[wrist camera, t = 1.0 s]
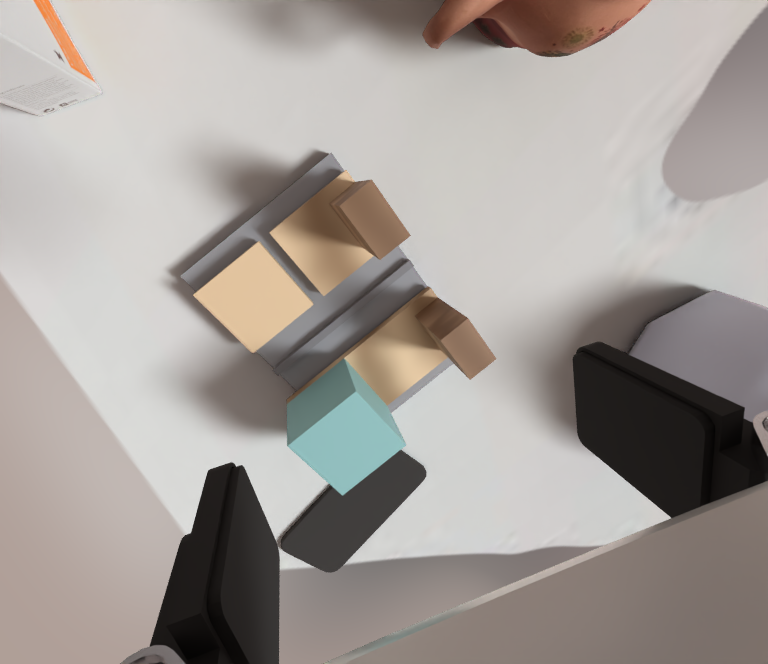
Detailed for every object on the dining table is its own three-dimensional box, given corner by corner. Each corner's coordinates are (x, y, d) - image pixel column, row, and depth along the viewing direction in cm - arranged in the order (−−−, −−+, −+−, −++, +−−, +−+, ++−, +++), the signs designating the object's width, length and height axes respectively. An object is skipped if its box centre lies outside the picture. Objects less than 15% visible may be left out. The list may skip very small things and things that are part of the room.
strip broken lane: (344, 170, 30) (361, 164, 23) (392, 237, 32) (419, 248, 26) (269, 231, 30) (265, 242, 23) (322, 293, 32) (332, 318, 26)
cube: (344, 358, 33) (356, 391, 28) (387, 405, 36) (406, 445, 30) (286, 404, 33) (287, 446, 28) (333, 448, 36) (342, 495, 30)
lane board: (329, 153, 30) (332, 151, 28) (467, 344, 38) (477, 352, 36) (183, 273, 30) (176, 278, 29) (349, 438, 38) (352, 451, 36)
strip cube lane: (427, 286, 34) (460, 307, 28) (464, 337, 36) (502, 368, 30) (286, 399, 34) (287, 446, 28) (332, 443, 36) (342, 495, 30)
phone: (431, 473, 41) (333, 576, 42) (429, 468, 42) (332, 569, 43) (379, 436, 38) (275, 547, 40) (377, 431, 39) (275, 541, 40)
